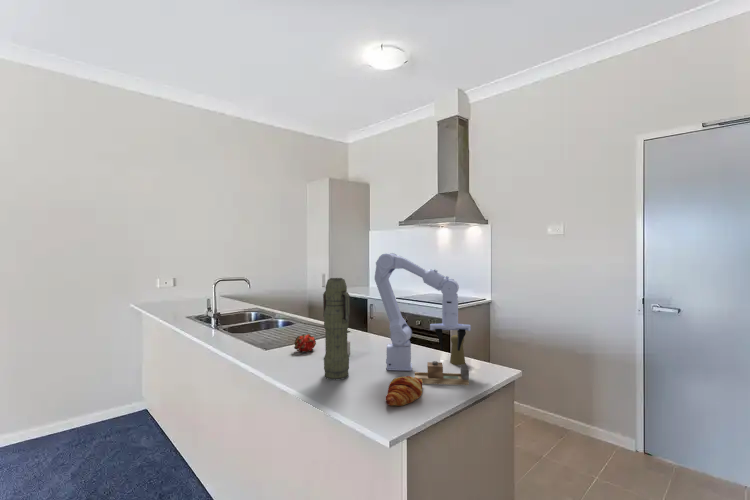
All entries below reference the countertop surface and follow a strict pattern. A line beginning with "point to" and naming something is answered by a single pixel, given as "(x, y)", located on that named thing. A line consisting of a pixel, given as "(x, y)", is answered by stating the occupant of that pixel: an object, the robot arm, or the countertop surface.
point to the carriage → (435, 369)
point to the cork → (457, 352)
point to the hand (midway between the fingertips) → (450, 349)
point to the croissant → (404, 390)
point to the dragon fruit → (305, 343)
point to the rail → (447, 377)
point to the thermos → (336, 328)
